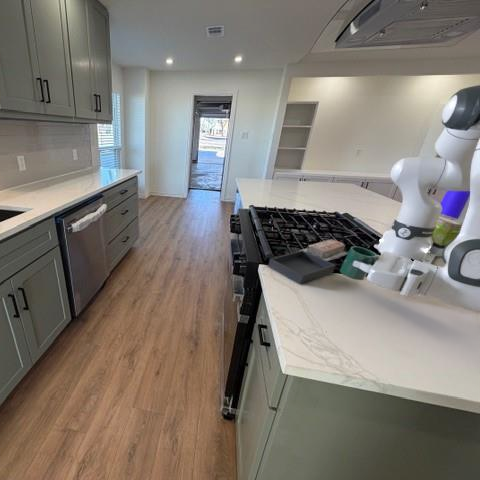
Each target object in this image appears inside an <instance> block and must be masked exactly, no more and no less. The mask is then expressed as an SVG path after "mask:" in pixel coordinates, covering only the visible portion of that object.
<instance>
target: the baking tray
mask: <svg viewBox="0 0 480 480" xmlns="http://www.w3.org/2000/svg"><path fill="white" fill-rule="evenodd" d="M300 250H301V251H300ZM300 250H298V251H294V252H290V253H286V254H283V255H280V256H275V257H272V258H269V261H268V267H269V268H271V269H273V270H275V271H276V272H278V273H280V274H281V275H284V276H285V277H287V278H289V279H291V280H293V281H294V282H296V283H298V284H300V285H302V284H304V283H307V282H310V281H313V280H315V279H319V278H321V277H324V276H326V275H330V274H333V273H334V272H335V269H336V264H334V263H332V262H330V261H325V260H323V259H321V258H319V257H316V256H314V255H312V254H309V253H307V252H305V251H303V250H302V249H300ZM286 259H287V260H286ZM283 260H284V261H283Z"/></svg>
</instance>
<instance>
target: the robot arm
mask: <svg viewBox="0 0 480 480" xmlns="http://www.w3.org/2000/svg"><path fill="white" fill-rule="evenodd" d="M441 123H442V125H443V126H444V129H443V130H442V131H441V133H440V135H439V136H438V138H437V140H436V141H435V143H434V150H435V152H436V154H437V155H438V156H439V157H436V156H435V157H434V156H411V157H403V158H401V159H399V160H398V161H397V162H395V163H394V165H392V168H391V170H390V179H391V181H392V182H393V183H394V184H395V185H396V186H397V187H398V189H399V191H400V193H401V196H402V202H401V206H400V209H399V212H398V215H397V217H396V219H394V221H393V222H392V226H391V229H387V230H385V232H384V233H383V235H382V238H380V239H379V243H375V244H374V245H373V247H374V248H375V249H376V250H377V251H378V253H380V255H379V254H376V255H377V256H376V258H375V260H374V262H373V264H372V265H369V264H368V265H367V264H365V263H362V261H359V260H355V261H354V262H353V266H354V267H357V268H360V269H361V270H363V271H364V272H367V275H366V280H367V281H369V282H370V283H372V284H374V285H376V286H379V287H381V288H385V289H387V290H389V291H390V290H391V291H394V292H398V294H399V295H401V296H404V297H407V298H410V297H413V296H416V295H420V296H423V297H427V298H428V297H429V298H433V299H437V300H439V301H441V302H443V303H445V304H448V305H450V306H453V307H456V308H460V309H463V310H467V311H471V312H474V313H479V314H480V84H478V85H477V84H476V85H472V86H468V87H465V88H461V89H459V90H458V91H457V92H455V93H454V94H453V95H451V97H450V98H449V100H448V101H447V102H446V104H445V106H444V107H443V110H442V114H441ZM429 190H440V191H470V197H469V202H468V206H467V209H466V212H465V214H464V217H463V220H462V221H463V223H462V226H461V229H460V231H459V233H458V235H457V236H456V237H455V238H454V239H453V240H452V241H451V242H449V243H448V244H447V245H446V246H445V248H444V249H443V252H442V261H443V262H444V264H445V265H444V266H439V265H436V264H432V263H433V261H434V260H435V258H436V257H437V256H436V254H433V253H431V252H430V249H431V247H432V245H433V240H432V238H431V236H432V235H433V233H434V230H435V228H436V226H435V224H436V222H437V220H438V218H439V216H440V214H441V212H442V206H441V202H439V201H437V200H436V199H434V198H432V197H431V196H429V195H428V192H429ZM411 258H414V259H418V260H421V261H423V262H421V261H418V260H414V261H412V260H411Z"/></svg>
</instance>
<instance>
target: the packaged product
mask: <svg viewBox="0 0 480 480" xmlns="http://www.w3.org/2000/svg"><path fill="white" fill-rule="evenodd" d="M345 247H346V244H345V243H344V242H342V241H338V240H336V239H332V238H330V239H326V240H323V241H319V242H315V243H313V244H309V245H308V246H307V247H306V248H303V249H299V251H301V250H303V251H305V252H307V253H309V254H312V255H314V256H316V257H319V258H321V259H323V260H325V261H328V262H330V261H334V260H338V259H340V258H342V257H344V256H347V254H348V252H349V251H348V252H347V251H345Z"/></svg>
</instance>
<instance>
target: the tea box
mask: <svg viewBox="0 0 480 480" xmlns="http://www.w3.org/2000/svg"><path fill="white" fill-rule="evenodd" d="M462 223H463V220H461V219H459V218H458V219H456V218H453V217H450V216H447V215H444V214H440V216H439V218H438V220H437V222H436V224H435V226H436V228H435V230H434V233H433V235H432V236H431V238H432V240H433V245H432V247H431V249H430V252H431V253H433V254H436V256H435V257H439V258H440V257H442V252H443V249H444V248H445V246H446V245H447V244H448V243H449V242H451V241H452V240H453V239H454V238H455V237H456V236H457V235H458V233H459V231H460V229H461V226H462Z"/></svg>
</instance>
